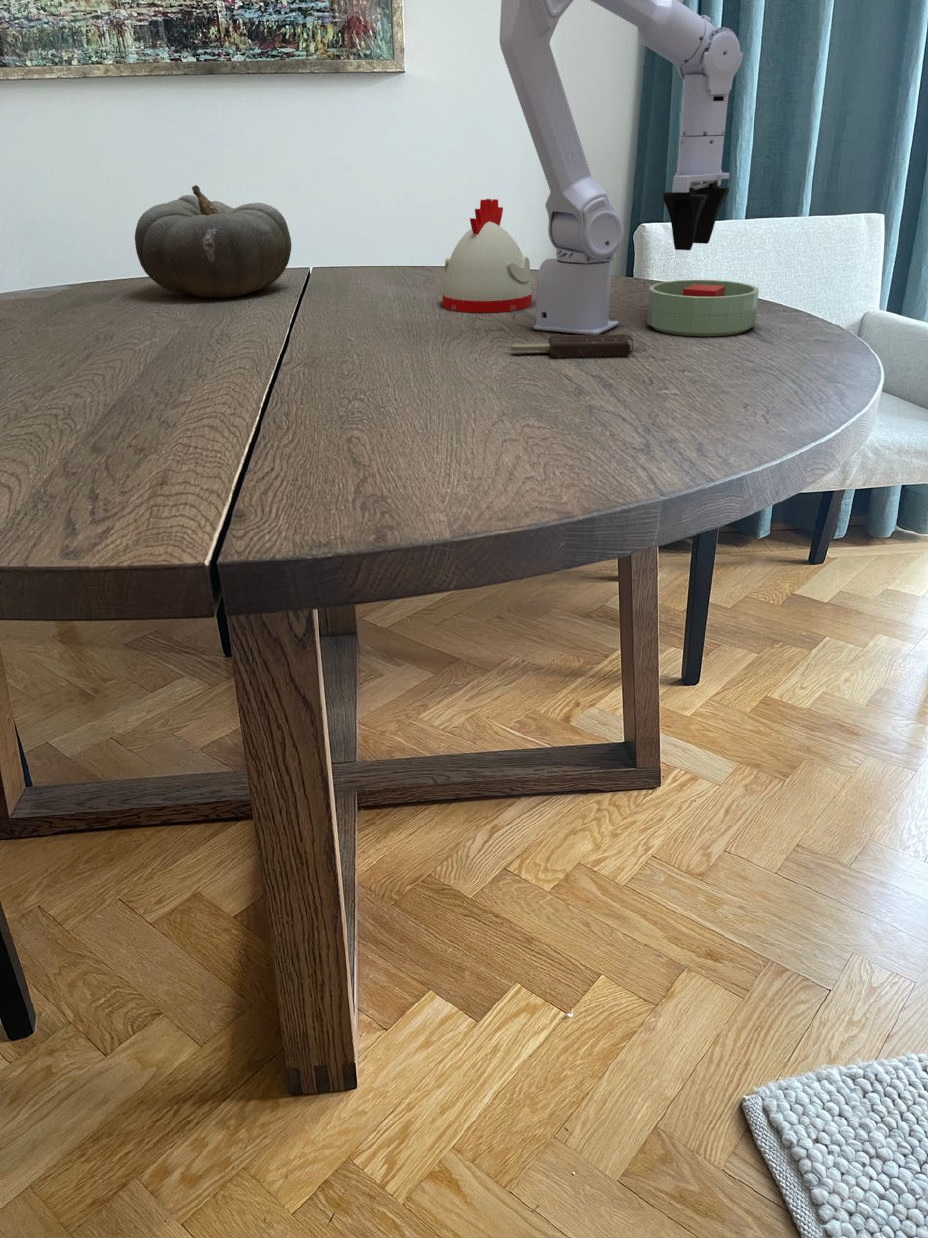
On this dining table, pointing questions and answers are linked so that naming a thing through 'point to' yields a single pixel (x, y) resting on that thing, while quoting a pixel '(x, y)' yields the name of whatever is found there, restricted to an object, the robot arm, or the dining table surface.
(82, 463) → the dining table surface
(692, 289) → the red cube
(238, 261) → the gourd
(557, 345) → the ice cream bar
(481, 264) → the kitchen timer
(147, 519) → the dining table surface
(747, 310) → the bowl
